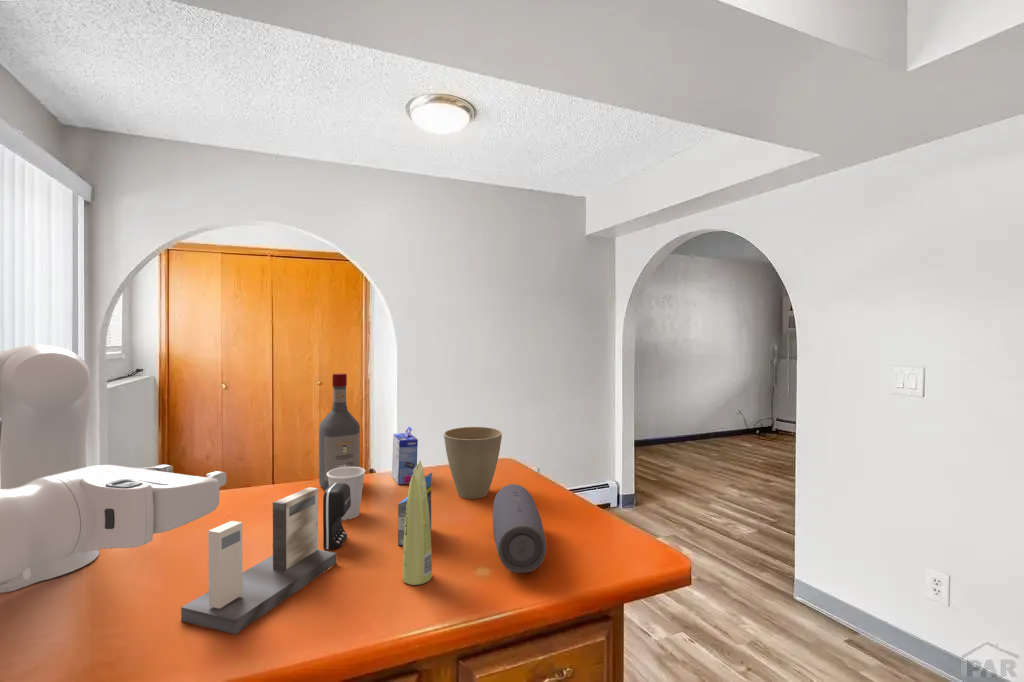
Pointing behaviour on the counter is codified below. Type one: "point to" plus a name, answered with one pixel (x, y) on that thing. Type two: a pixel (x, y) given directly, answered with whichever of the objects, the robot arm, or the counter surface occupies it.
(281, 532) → the ticket holder
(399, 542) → the label tape cartridge
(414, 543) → the tube
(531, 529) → the bluetooth speaker
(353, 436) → the liquor
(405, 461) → the ink cartridge box
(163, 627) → the counter surface
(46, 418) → the robot arm
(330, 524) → the battery charger
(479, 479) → the plant pot
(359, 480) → the dixie cup
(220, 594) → the white tall block
